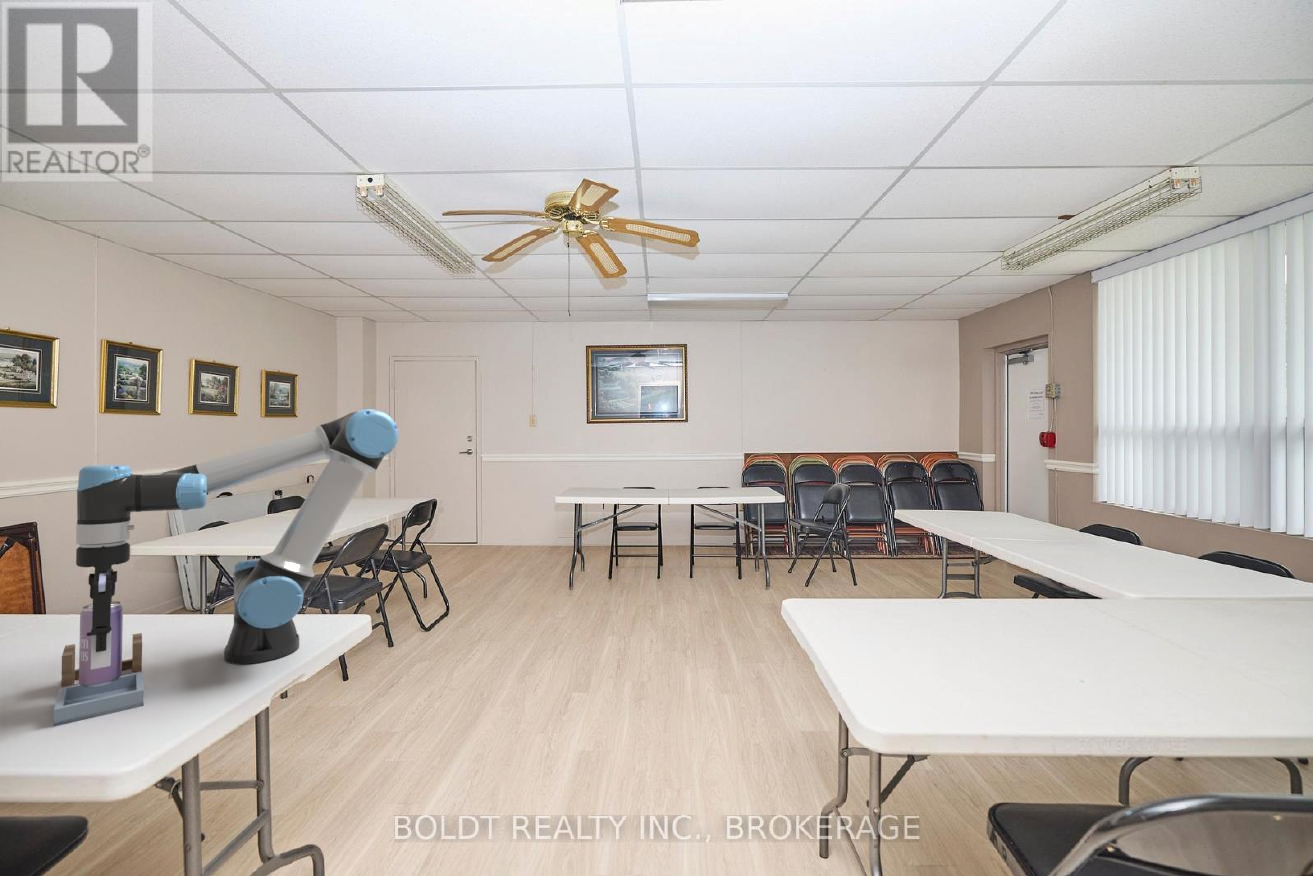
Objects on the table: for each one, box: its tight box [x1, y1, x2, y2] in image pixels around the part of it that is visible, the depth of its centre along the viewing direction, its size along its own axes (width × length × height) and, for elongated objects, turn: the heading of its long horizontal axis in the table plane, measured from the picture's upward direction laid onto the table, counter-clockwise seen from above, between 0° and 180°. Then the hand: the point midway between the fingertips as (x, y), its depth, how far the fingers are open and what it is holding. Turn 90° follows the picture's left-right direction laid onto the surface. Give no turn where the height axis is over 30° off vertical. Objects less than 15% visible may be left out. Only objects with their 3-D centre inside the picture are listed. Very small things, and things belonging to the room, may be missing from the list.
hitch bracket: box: [60, 632, 143, 688], centre depth 121 cm, size 11×12×8 cm
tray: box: [53, 670, 145, 727], centre depth 110 cm, size 12×12×3 cm
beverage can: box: [78, 600, 124, 688], centre depth 110 cm, size 6×6×15 cm
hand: (101, 661), depth 110 cm, fingers closed on beverage can, 6 cm apart
